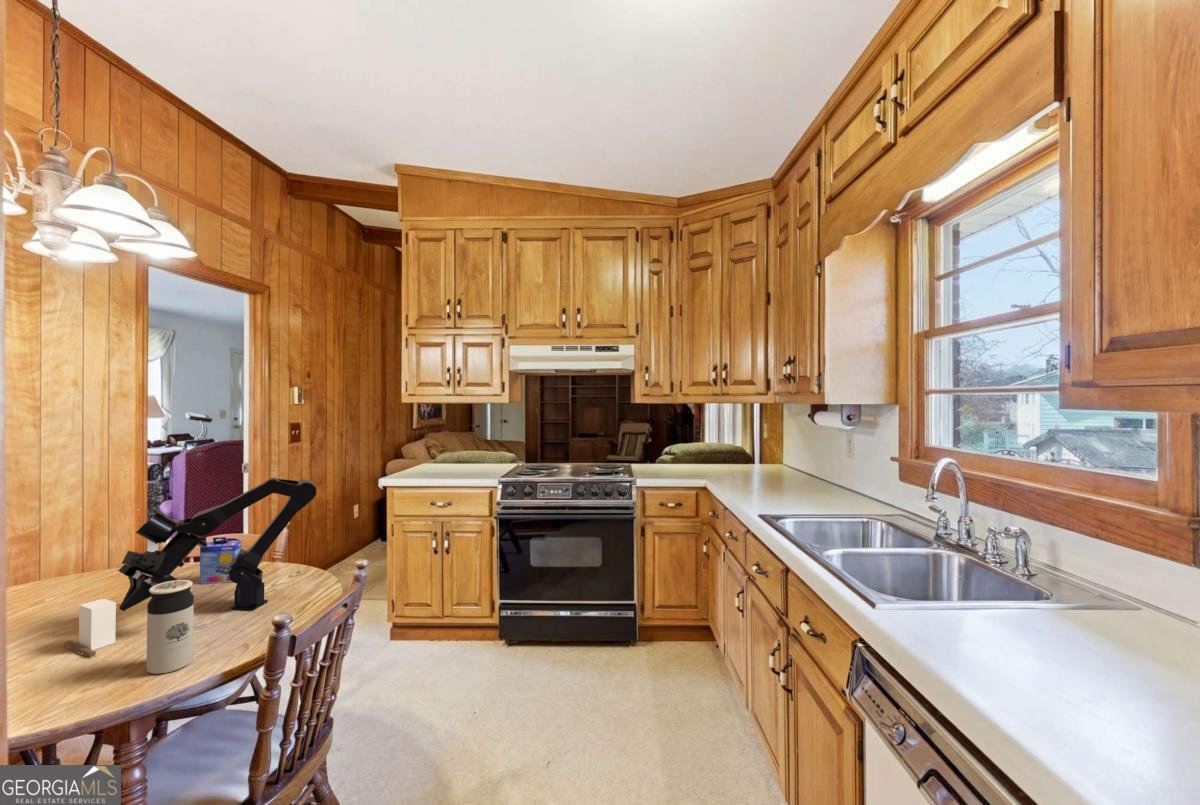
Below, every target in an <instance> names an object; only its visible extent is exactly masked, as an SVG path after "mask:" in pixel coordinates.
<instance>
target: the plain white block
mask: <svg viewBox="0 0 1200 805" xmlns="http://www.w3.org/2000/svg"><path fill="white" fill-rule="evenodd" d="M78 606H79V609H78V613H79V614H78V644H79V645H81V646H84V647H86V648H88V649H91V650H96V651H98V650H97V649H99V648H102V647H105V648H107V647H110V646H112V645H111V644H113V645H115V644H116V629H117V628H116V625H117V624H116V622H117V621H116V620H117V616H116V615H117V614H116V613H117V609H116V608H117V607H116V606H117V602H116V601H113V600H110V599H107V598H105V597H104V598H101V599H97V600H93V601H90V602H89V601H88V602H85V603H82V604H79V605H78ZM114 643H115V644H114ZM109 645H110V646H109ZM106 646H107V647H106ZM102 649H103V648H102ZM99 650H100V649H99Z"/></svg>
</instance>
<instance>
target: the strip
mask: <svg viewBox="0 0 1200 805" xmlns="http://www.w3.org/2000/svg"><path fill="white" fill-rule="evenodd" d="M64 646H66V647H68V648H70V649H69V650H71V649H73V650H75V651H77V652H76V653H78V652H80V653H83V654H84V655H86V656H85V657H87V656H89V657H92V656H94V657H96V656H97V651H93V650H91V649H88V648H86V647H84V646H81V645H79V643H77V642H75V641H72V640H66V641H63V647H64ZM66 647H65V648H66ZM68 648H67V649H68ZM73 650H72V651H73ZM75 651H74V652H75ZM80 653H79V654H80ZM84 655H83V656H84ZM95 655H96V656H95ZM89 657H88V658H89ZM92 658H93V657H92Z"/></svg>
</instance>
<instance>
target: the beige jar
mask: <svg viewBox="0 0 1200 805" xmlns="http://www.w3.org/2000/svg"><path fill="white" fill-rule="evenodd" d="M192 585H193V581H191V580H189V579H178V580H174V581H168V582H164V583H160V584H157V585H155V586H153V587H151V588H150V589H149V592H150V593H151V597H150V598H149V601H148V602H147V607H146V608H147V609H146V610H147V611H146V613H147V614H146V669H145V670H146V672H147V673H149V674H155V675H156V674H157V675H159V674H161V675H162V673H163V674H166V673H168V674H169V673H171V672H175V671H178V670H180V669H183V668H185V667H186V666H188V665H190V663H191V662H192V661H193V659H194V609H195V608H194V606H195V605H194V603H195V602H194V601H195V599H194V598H195V596H194V594H193V593H192V591H191V587H192ZM182 667H183V668H182Z"/></svg>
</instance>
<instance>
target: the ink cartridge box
mask: <svg viewBox="0 0 1200 805" xmlns="http://www.w3.org/2000/svg"><path fill="white" fill-rule="evenodd" d="M206 543H207V546H206V547H204V548H202V547H200V546H199V549H200V550H199V584H200V585H206V584H207V585H208V584H210V585H211V584H224V583H233V582H232V581H231V580H230V578H229V572H230V564H231V560H232V559H234V558H235V557H236V556H237V555H238V553H239V551H240V550H241V549H242V540H228V539H227V537H226V536H220V537H218V536H216V537H212V541H206Z"/></svg>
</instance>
